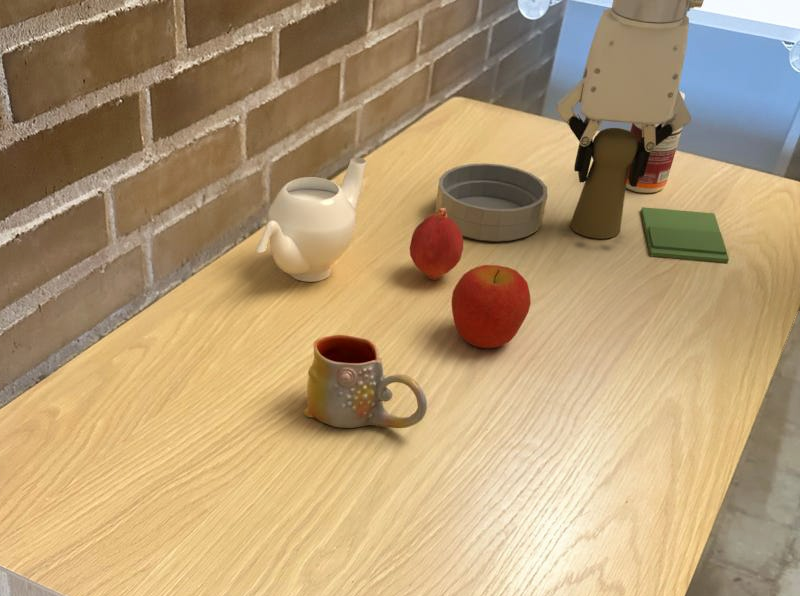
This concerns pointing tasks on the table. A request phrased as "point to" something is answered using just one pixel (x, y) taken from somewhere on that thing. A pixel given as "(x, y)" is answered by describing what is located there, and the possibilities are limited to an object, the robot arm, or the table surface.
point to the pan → (492, 201)
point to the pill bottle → (656, 161)
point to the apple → (490, 305)
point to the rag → (683, 235)
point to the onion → (436, 245)
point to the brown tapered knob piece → (605, 184)
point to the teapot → (313, 223)
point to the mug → (354, 385)
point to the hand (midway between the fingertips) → (607, 178)
